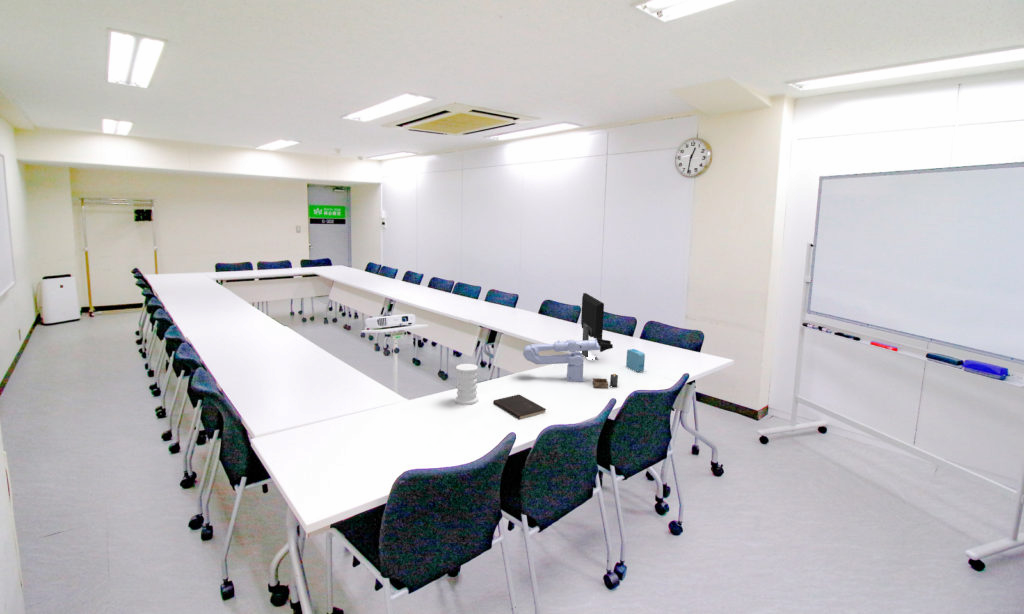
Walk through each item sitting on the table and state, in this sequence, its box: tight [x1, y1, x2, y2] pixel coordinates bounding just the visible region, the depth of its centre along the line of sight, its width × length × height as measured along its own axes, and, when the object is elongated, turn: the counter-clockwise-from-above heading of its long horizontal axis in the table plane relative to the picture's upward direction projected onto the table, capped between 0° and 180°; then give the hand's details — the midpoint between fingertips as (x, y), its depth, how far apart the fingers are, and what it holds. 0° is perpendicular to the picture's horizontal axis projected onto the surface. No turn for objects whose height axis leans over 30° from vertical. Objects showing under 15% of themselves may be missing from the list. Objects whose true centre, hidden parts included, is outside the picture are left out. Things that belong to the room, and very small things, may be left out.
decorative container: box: [455, 363, 479, 406], centre depth 249 cm, size 12×12×18 cm
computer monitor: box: [580, 292, 605, 361], centre depth 331 cm, size 41×8×40 cm, turn 8°
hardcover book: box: [492, 394, 547, 420], centre depth 243 cm, size 16×23×2 cm
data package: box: [625, 348, 646, 373], centre depth 305 cm, size 12×4×12 cm, turn 24°
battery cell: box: [609, 373, 619, 388], centre depth 275 cm, size 4×4×7 cm
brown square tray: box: [592, 377, 609, 389], centre depth 276 cm, size 8×8×3 cm
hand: (611, 344), depth 281 cm, fingers open, 7 cm apart
